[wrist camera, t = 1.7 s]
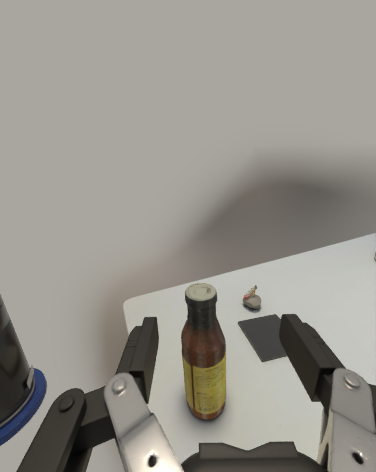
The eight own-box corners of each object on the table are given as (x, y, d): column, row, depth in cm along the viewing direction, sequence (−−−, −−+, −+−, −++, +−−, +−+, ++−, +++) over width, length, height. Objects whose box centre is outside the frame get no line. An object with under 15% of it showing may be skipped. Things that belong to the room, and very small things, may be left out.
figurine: (262, 312, 49) (265, 291, 47) (245, 312, 49) (246, 291, 47) (256, 299, 54) (258, 280, 52) (240, 299, 54) (241, 280, 52)
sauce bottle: (232, 394, 31) (239, 288, 25) (212, 434, 27) (214, 316, 20) (198, 370, 35) (197, 273, 29) (176, 402, 31) (168, 294, 24)
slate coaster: (262, 361, 37) (262, 359, 36) (237, 323, 46) (237, 321, 46) (307, 350, 39) (308, 348, 38) (275, 315, 48) (275, 314, 48)
